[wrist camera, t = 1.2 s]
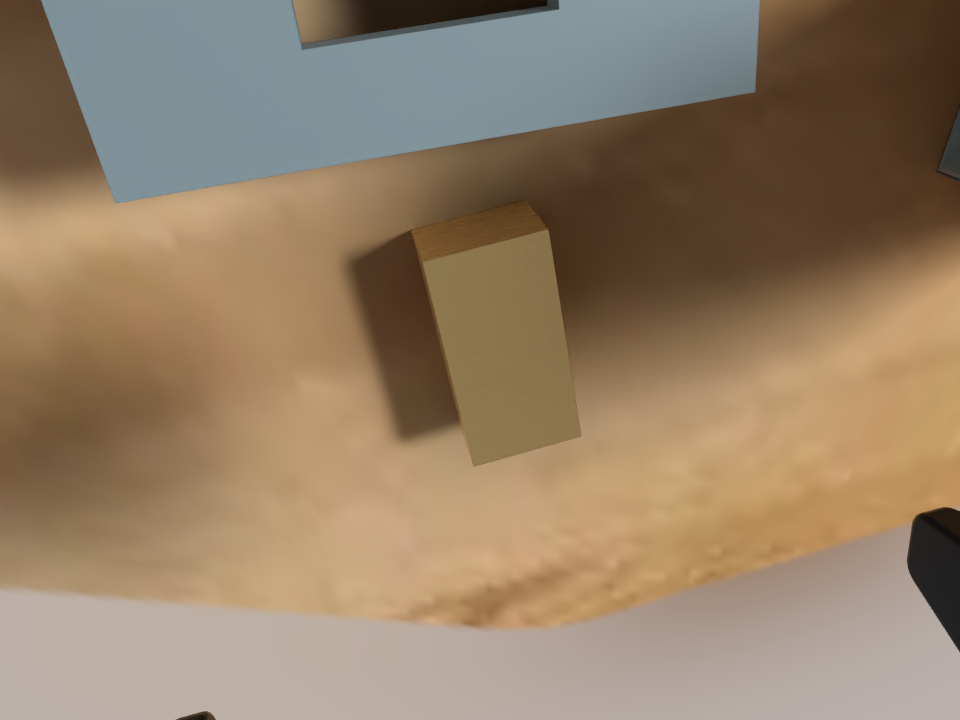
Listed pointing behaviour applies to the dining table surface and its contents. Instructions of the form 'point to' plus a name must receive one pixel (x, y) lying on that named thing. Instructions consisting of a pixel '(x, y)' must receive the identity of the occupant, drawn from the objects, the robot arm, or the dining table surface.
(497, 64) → the blue-grey hollow frame
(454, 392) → the tan wooden post
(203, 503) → the dining table surface
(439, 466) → the dining table surface
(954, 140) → the juice carton
